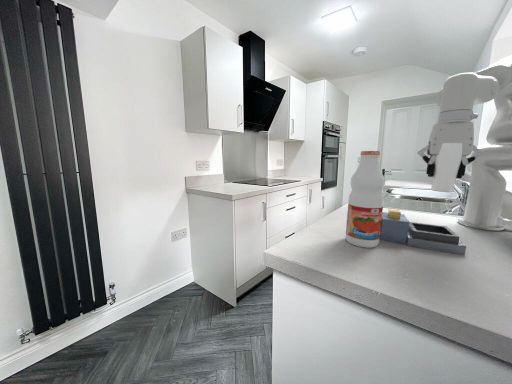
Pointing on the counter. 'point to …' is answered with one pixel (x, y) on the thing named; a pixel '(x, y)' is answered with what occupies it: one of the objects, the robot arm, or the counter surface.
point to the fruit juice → (365, 202)
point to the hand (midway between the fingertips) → (443, 176)
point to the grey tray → (419, 234)
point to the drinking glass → (446, 167)
